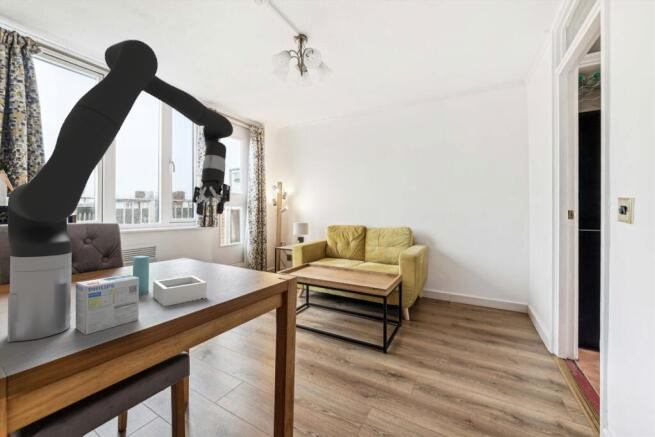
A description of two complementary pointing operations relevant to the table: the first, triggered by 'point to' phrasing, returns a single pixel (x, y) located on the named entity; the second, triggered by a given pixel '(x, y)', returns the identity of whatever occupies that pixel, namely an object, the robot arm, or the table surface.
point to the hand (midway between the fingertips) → (209, 214)
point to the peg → (142, 272)
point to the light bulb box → (106, 303)
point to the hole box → (179, 290)
